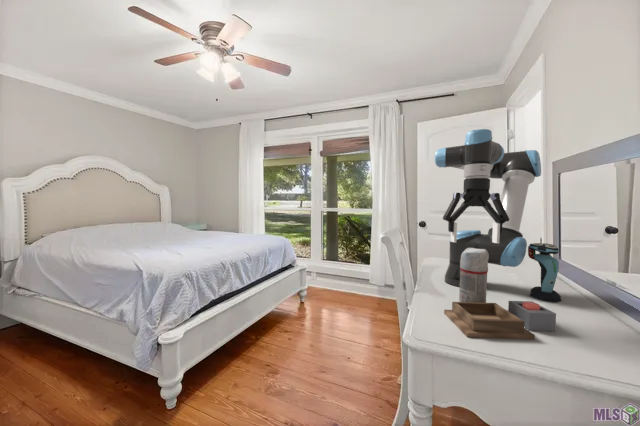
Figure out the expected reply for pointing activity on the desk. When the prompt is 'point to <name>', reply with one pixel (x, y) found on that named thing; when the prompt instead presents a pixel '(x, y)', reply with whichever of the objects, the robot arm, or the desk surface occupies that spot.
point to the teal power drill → (545, 271)
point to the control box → (533, 317)
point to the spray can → (473, 275)
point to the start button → (531, 305)
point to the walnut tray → (487, 321)
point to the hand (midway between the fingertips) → (474, 242)
